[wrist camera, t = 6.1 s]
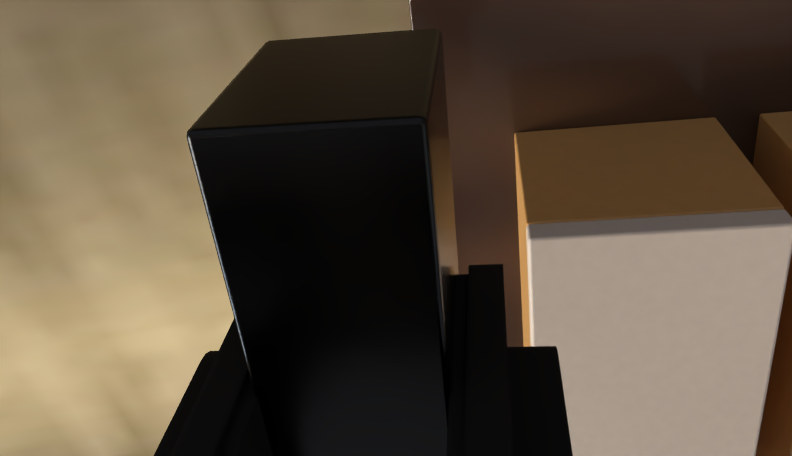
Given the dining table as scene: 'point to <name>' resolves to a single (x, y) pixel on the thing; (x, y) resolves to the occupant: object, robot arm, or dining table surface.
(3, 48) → the dining table surface
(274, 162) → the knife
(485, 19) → the cake board
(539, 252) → the cake
